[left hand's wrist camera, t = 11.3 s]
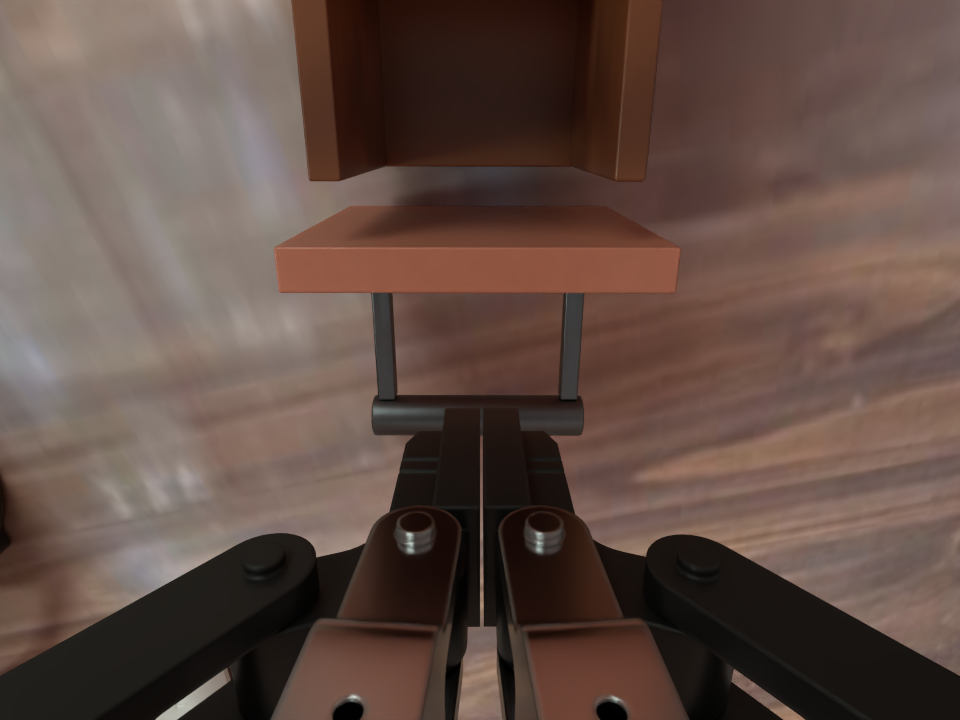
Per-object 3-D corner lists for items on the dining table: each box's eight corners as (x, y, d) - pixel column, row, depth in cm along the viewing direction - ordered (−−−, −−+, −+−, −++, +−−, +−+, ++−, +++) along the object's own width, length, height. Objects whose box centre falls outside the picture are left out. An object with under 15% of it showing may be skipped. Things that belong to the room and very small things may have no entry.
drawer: (594, 372, 26) (652, 491, 17) (361, 372, 26) (302, 490, 17) (651, -382, 18) (823, -895, 9) (305, -383, 18) (132, -897, 9)
